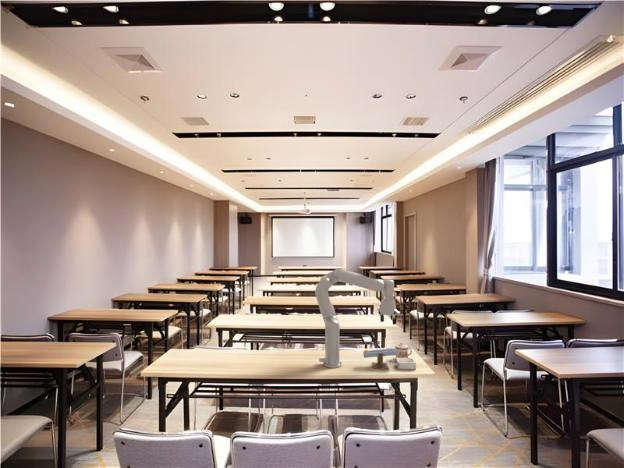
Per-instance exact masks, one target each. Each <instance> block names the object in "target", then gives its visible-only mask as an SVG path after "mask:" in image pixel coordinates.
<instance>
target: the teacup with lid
mask: <svg viewBox="0 0 624 468" xmlns="http://www.w3.org/2000/svg"><path fill="white" fill-rule="evenodd" d="M394 348H396V351H397V355H395V359H396V358H409V356H411V355H412V354H413V350H412V348H410V347H409V346H408V345H407V344H404V342H403V341H402V342H400V343H398V344H396V345H395V347H394ZM409 351H410V352H409Z"/></svg>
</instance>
